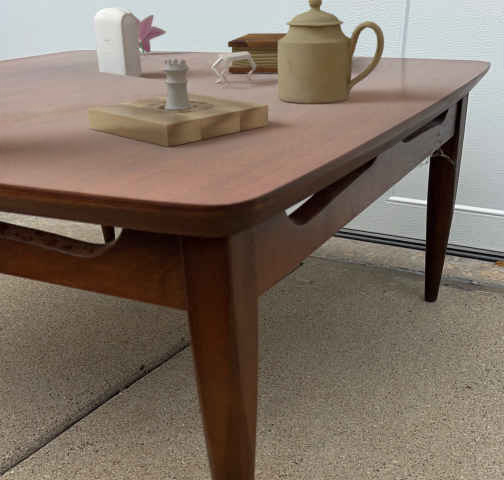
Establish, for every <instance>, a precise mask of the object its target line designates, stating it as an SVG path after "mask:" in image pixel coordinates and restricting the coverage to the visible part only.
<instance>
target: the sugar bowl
mask: <svg viewBox="0 0 504 480" xmlns="http://www.w3.org/2000/svg"><path fill="white" fill-rule="evenodd" d="M322 4H323V1H322V0H308V6H309V7H310V9H309V10H307V11H304V12H301V13H298V14H296V15H294V17H292V19H291V20H290V21H288V22H286V23H285V25H286V26H288V30H287V32H286V33H287V34H286V35H285V37H283V38H282V39H280V40H278V73H277V86H278V99H279V100H281V101H283V102H286V103H293V104H305V105H306V104H307V105H308V104H311V105H315V104H316V105H317V104H319V105H320V104H332V103H334V104H335V103H340V102H344V101H347V100H349V99H350V96H351V91H352V89H353V87H355V86H356V85H357V84H359V83H360V82H362V81H364V79H366V78H367V77H368V76H369V75H370V74H371V73H372V72H373V71H374V70H375V69H376V68H377V66H378V64H379V63H380V61H381V58H382V56H383V53H384V49H385V36H384V32H383V30H382V28H381V27H380V26H379V25H378V24H377V23H376V22H374V21H370V20H369V21H368V20H366V21H363V22H361V23H359V24H358V25H356V27H355V28H354V30H353V31H352V33H351V36H350V37H349V36H347V35H346V34H345V33H344V32H343V30H342V26H341V25H343V24H344V21H342V20H340V19H339V18H338V17H337V16H336V15H335V14H333V13H330V12H327V11H324V10H322V9H321V7H322ZM367 28H369V29H371V30H373V32H374V34H375V36H376V48H375V52H374V55H373V58H372V60H371V61H370V64H368V66H366V68H365V69H364V70H363V71H362V72H361V73H359V74H358V75H357V76H355V77H354V78H352V67H353V66H352V65H353V57H354V55H355V51H356V48H357V43H358V40H359V38H360V35H361V33H362V31H363V30H365V29H367Z"/></svg>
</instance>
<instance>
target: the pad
mask: <svg viewBox="0 0 504 480" xmlns="http://www.w3.org/2000/svg"><path fill="white" fill-rule="evenodd" d="M187 94H188V99H189V102H190V105H191V106H192V107H191V108H192V109H188V110H165V108H164V107H165V106H166V102H167V95H163V96H157V97H151V98H144V99H138V100H133V101H126V102H125V101H124V102H121V103H114V104H109V105H108V104H107V105H101V106H94V107H89V108H87V115H88V122H89V129H90V130H94V131H99V132H103V133H107V134H111V135H117V136H120V137H125V138H129V139H132V140H136V141H140V142H146V143H150V144H153V145H157V146H163V147H167V148H171V147H176V146H180V145H184V144H189V143H193V142H194V143H195V142H199V141H202V140H206V139H212V138H217V137H221V136H226V135H229V134H234V133H238V132H243V131H249V130H253V129H258V128H262V127H266V126H269V105H268V104H263V103H256V102H250V101H243V100H236V99H229V98H224V97H216V96H212V95H211V96H210V95H203V94H196V93H192V92H191V93H189V92H187Z"/></svg>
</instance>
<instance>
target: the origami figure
mask: <svg viewBox="0 0 504 480" xmlns="http://www.w3.org/2000/svg"><path fill="white" fill-rule="evenodd" d="M243 59H247V60H248V61H249V63H250V65H251V66H252V68H253V69H252V70H251V71H250V72H249V73H246V75H245V77H246V78H247V80H248V81H249V83H250V84H253V82H252V79H251V77H252V75H253V74H254V73H253V71H254V70H255V69H256V66H257V65H256V64H255V62H254V61H253V60H252V58H251V54H250V53H248V51H245V52H235V53H232V52H226V53H225V52H224V53H218V58H217V59H216V61H215V62H213V64H212V65H211V66H210V69H211V70H212V71H213V73H215V74H216V75H217V76H218V77H219V78H220V79H218V80H217V81H215V83H216V84H218V83H220V82H222V81H223V80H224V81H225V84H224V85H223V86H222V87H221V89H225V88H226V87H227V86H228V85H229V84H230V82H229V80H228V79H227V78H226V76H225V71H226V70H227V68H228V66H229V65H230V63H231V62H232V61H237V60H243ZM223 61H225V64H224V66H223V68H222V70H221V71H220V73H219V71H218V70H217V69H216V67H217V66H218V65H220V64H221V63H222V62H223ZM253 64H254V65H255V66H254V65H253Z"/></svg>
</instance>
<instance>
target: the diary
mask: <svg viewBox="0 0 504 480" xmlns="http://www.w3.org/2000/svg"><path fill="white" fill-rule="evenodd" d="M286 34H287V32H270V33H269V32H265V33H259V32H258V33H257V32H256V33H254V32H253V33H247V34H244V35H242V36H239V37H237V38H235V39H232V40H229V41H228V42H227V47H228V48H231V53H235V52H245V51H248V53H250V54H251V58H252V60H253V61H254V62H255V64H256V65H257V66H256V69H255V70H254V71H253V73H252V74H255V73H258V74H260V73H261V74H269V73H271V74H273V73H274V74H275V73H277V74H278V40H280V39H282V38H283V37H285V35H286ZM231 62H232V63H231V66H229V67H228V73H231V74H232V73H234V74H237V73H238V74H239V73H240V74H241V73H242V74H243V73H246V74H248V73H249V72H250V71H251V70H252V69H253V68H252V66H251V65H250V63H249V61H248V60H247V59H243V60H237V61H231ZM253 65H254V64H253ZM254 66H255V65H254Z"/></svg>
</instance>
